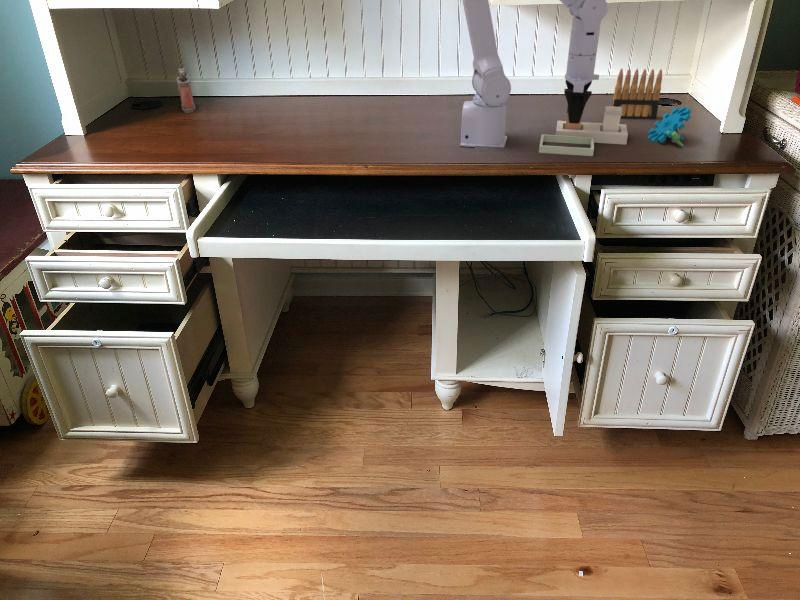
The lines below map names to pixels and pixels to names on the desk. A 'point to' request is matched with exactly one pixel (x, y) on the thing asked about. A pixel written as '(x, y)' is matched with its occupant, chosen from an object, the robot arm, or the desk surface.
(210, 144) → the desk surface
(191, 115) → the desk surface
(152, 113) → the desk surface
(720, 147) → the desk surface
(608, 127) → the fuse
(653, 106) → the ammunition clip
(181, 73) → the pink perfume bottle
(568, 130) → the block
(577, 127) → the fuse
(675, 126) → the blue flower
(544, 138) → the parts tray
